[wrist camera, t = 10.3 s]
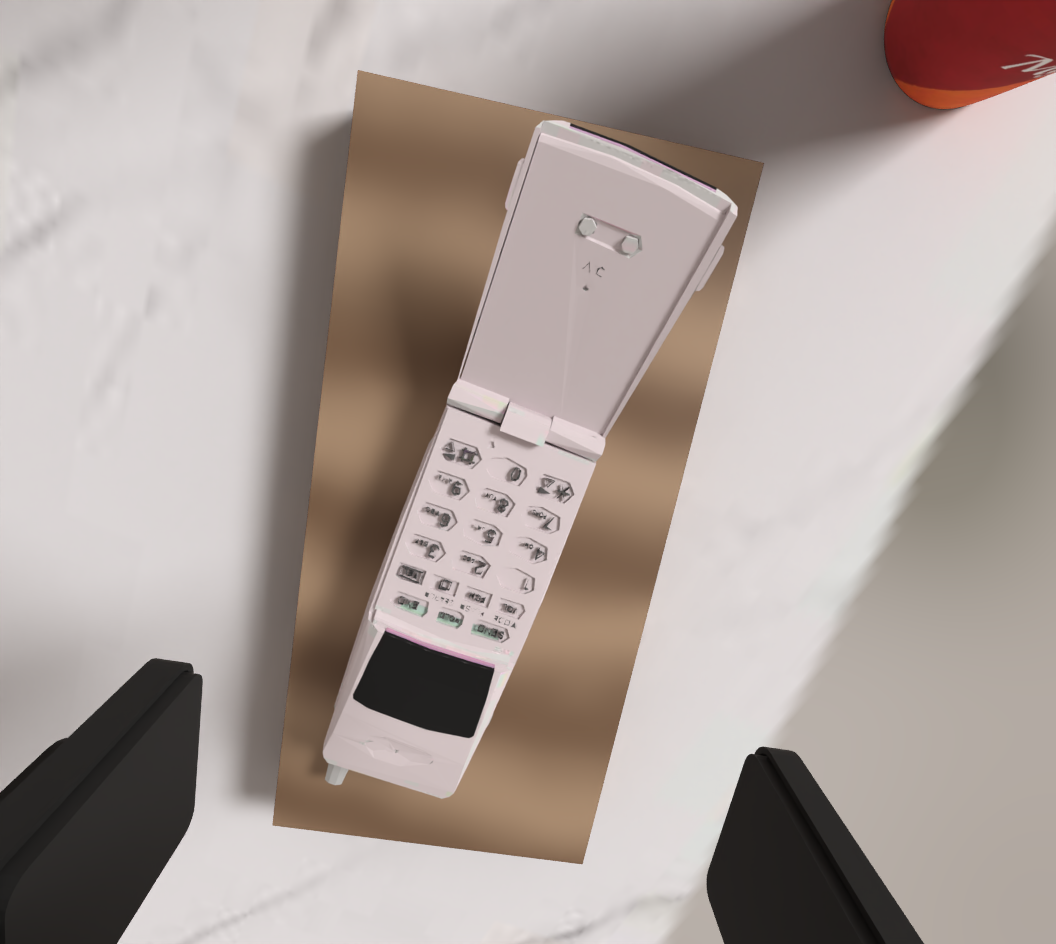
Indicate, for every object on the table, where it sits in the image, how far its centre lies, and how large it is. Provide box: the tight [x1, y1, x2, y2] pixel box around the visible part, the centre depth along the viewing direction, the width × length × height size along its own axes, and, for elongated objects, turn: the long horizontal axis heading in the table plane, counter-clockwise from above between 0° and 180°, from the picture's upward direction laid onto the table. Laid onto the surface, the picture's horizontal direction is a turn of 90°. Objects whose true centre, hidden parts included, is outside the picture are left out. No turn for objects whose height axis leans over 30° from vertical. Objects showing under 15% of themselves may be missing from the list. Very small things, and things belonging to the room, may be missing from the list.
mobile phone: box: [323, 120, 738, 799], centre depth 20 cm, size 6×6×25 cm
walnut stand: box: [273, 70, 764, 864], centre depth 25 cm, size 30×14×3 cm, turn 169°
